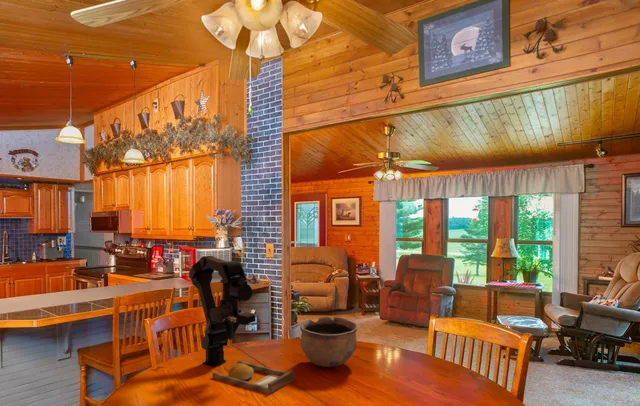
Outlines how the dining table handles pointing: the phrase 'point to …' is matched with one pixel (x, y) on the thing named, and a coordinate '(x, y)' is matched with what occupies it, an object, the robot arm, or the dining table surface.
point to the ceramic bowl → (328, 340)
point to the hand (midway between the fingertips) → (230, 339)
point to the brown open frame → (264, 385)
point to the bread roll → (241, 371)
